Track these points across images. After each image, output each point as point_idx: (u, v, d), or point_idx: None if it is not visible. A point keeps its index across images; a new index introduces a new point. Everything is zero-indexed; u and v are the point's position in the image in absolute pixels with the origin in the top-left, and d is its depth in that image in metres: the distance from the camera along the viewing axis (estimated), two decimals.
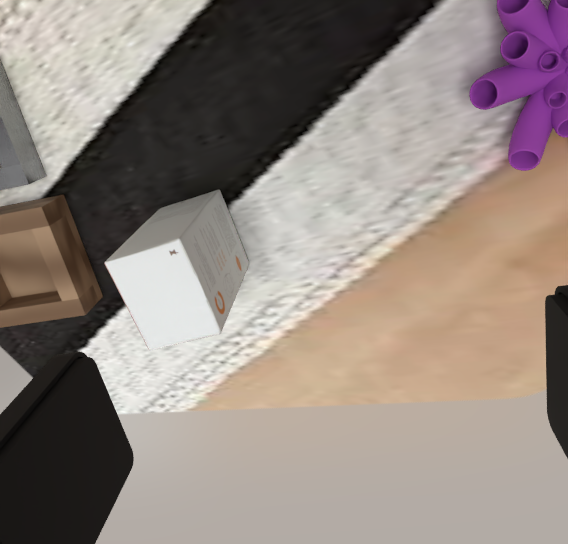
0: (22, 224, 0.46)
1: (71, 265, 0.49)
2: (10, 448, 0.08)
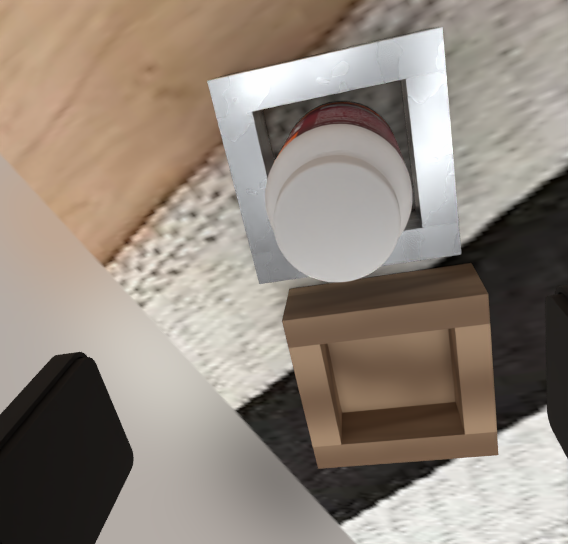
0: (441, 320, 0.28)
1: None
2: (10, 448, 0.08)
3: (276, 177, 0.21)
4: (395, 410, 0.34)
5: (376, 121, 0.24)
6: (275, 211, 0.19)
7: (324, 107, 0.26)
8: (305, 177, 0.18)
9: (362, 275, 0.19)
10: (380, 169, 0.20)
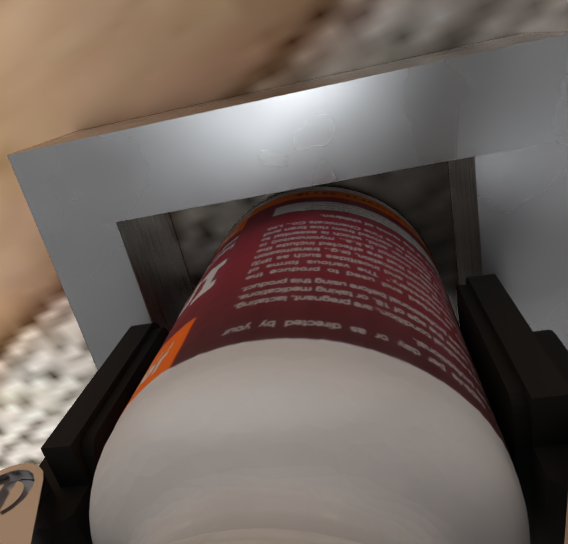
0: None
1: None
2: (111, 405, 0.09)
3: (103, 505, 0.06)
4: None
5: (404, 262, 0.10)
6: None
7: (283, 209, 0.12)
8: None
9: None
10: (443, 529, 0.06)
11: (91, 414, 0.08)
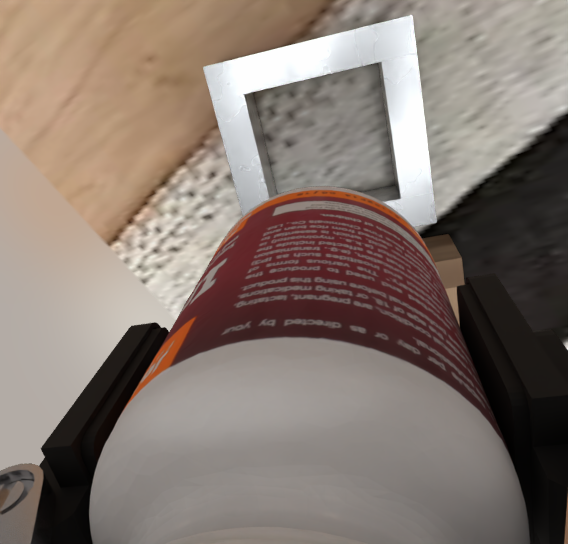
0: None
1: None
2: (111, 404, 0.09)
3: (103, 504, 0.06)
4: None
5: (404, 262, 0.10)
6: None
7: (282, 208, 0.12)
8: None
9: None
10: (443, 528, 0.06)
11: (92, 414, 0.08)
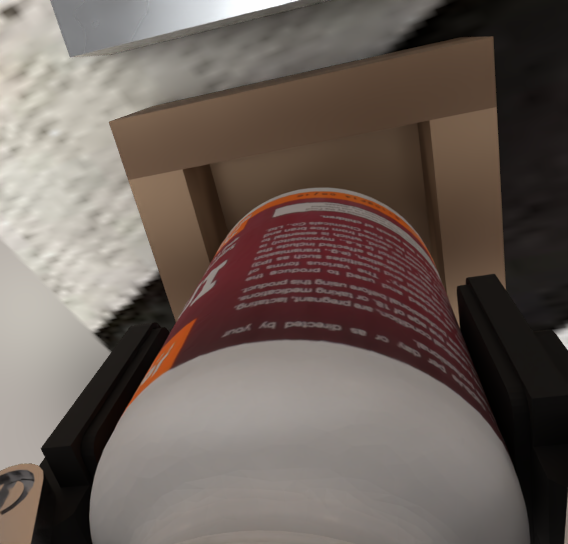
0: (402, 103, 0.14)
1: None
2: (111, 404, 0.09)
3: (103, 506, 0.06)
4: None
5: (404, 263, 0.10)
6: None
7: (283, 210, 0.12)
8: None
9: None
10: (443, 531, 0.06)
11: (91, 414, 0.08)
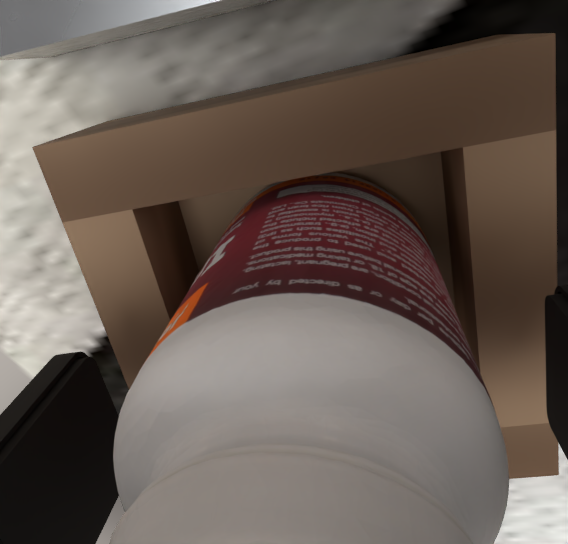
0: (426, 125, 0.10)
1: None
2: (11, 448, 0.08)
3: (127, 441, 0.07)
4: None
5: (398, 237, 0.10)
6: None
7: (286, 191, 0.12)
8: None
9: None
10: (429, 454, 0.06)
11: None
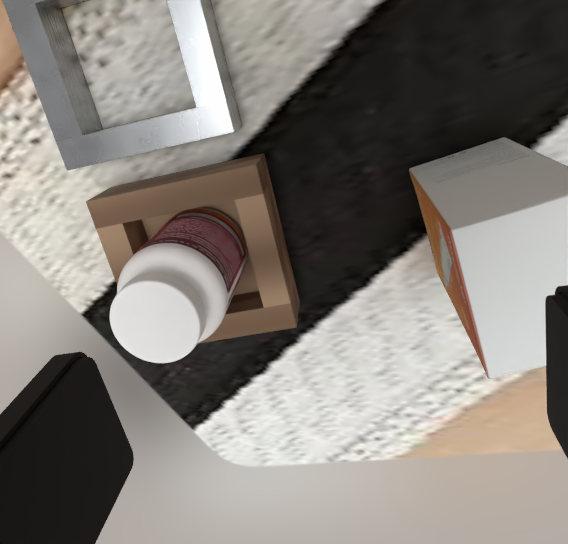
0: (221, 192, 0.31)
1: (280, 254, 0.33)
2: (10, 448, 0.08)
3: (121, 283, 0.28)
4: None
5: (212, 230, 0.31)
6: (110, 314, 0.26)
7: (180, 215, 0.33)
8: (127, 291, 0.25)
9: (179, 358, 0.26)
10: (193, 278, 0.27)
11: None
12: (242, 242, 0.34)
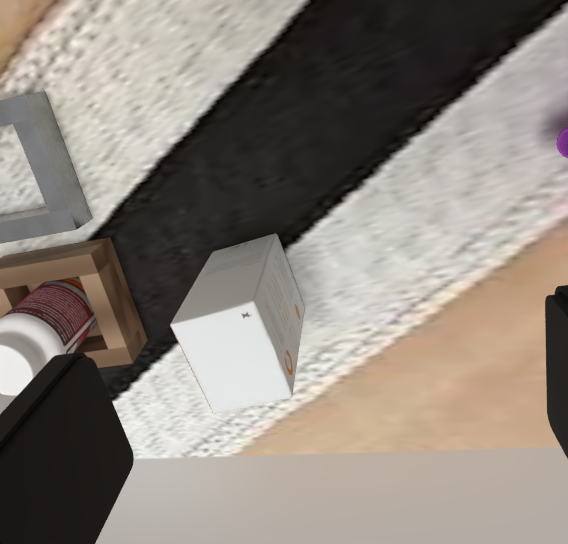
0: (69, 271, 0.44)
1: (119, 312, 0.46)
2: (10, 448, 0.08)
3: None
4: None
5: (62, 298, 0.44)
6: None
7: (45, 283, 0.46)
8: None
9: None
10: (33, 339, 0.40)
11: None
12: None
